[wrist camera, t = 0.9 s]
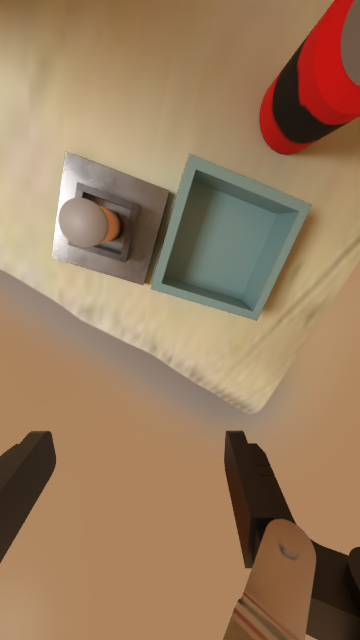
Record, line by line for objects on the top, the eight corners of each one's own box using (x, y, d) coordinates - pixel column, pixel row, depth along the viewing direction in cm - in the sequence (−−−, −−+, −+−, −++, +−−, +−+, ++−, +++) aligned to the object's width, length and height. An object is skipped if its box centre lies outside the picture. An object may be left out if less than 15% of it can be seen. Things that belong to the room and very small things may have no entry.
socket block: (55, 256, 30) (39, 260, 26) (69, 154, 26) (53, 141, 23) (143, 283, 33) (141, 290, 29) (168, 192, 29) (170, 186, 25)
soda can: (315, 154, 28) (414, 106, 17) (255, 155, 28) (316, 105, 17) (328, 73, 25) (457, -49, 14) (261, 72, 25) (341, -54, 14)
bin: (152, 278, 32) (150, 288, 27) (184, 168, 28) (189, 153, 22) (241, 306, 35) (257, 320, 29) (284, 209, 30) (311, 204, 25)
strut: (90, 235, 29) (55, 238, 19) (95, 203, 27) (61, 190, 18) (120, 245, 29) (100, 253, 20) (127, 214, 28) (109, 207, 19)
